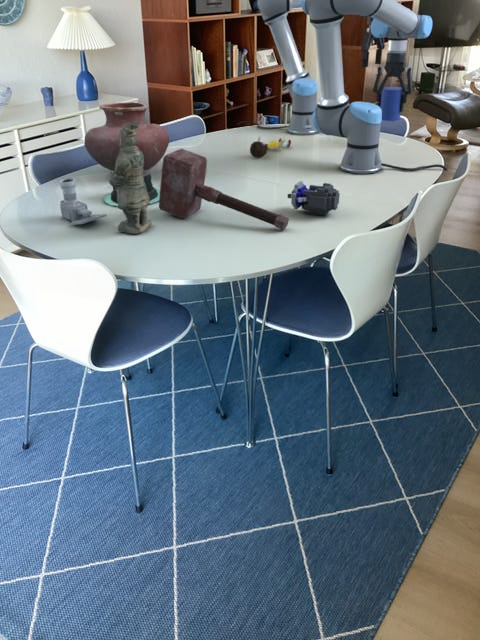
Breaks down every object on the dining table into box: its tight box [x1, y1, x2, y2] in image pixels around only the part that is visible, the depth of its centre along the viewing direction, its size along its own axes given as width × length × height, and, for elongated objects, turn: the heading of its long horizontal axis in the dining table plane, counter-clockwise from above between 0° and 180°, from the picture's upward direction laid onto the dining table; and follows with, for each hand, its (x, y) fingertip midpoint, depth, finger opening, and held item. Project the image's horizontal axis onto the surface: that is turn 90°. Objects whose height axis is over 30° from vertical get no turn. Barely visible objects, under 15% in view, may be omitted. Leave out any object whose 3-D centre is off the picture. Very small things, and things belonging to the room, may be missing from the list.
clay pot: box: [83, 101, 170, 172], centre depth 207 cm, size 30×30×25 cm
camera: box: [59, 177, 108, 225], centre depth 165 cm, size 9×12×15 cm
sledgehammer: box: [158, 148, 290, 231], centre depth 163 cm, size 17×10×40 cm
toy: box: [287, 180, 341, 216], centre depth 168 cm, size 9×9×15 cm
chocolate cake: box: [103, 169, 160, 207], centre depth 186 cm, size 15×19×20 cm
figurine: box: [249, 135, 292, 158], centre depth 235 cm, size 13×8×25 cm
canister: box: [380, 86, 403, 122], centre depth 234 cm, size 9×9×12 cm
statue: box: [108, 121, 153, 235], centre depth 154 cm, size 11×9×30 cm
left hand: (371, 65), depth 268 cm, fingers open, 13 cm apart
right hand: (390, 110), depth 236 cm, fingers closed on canister, 9 cm apart
